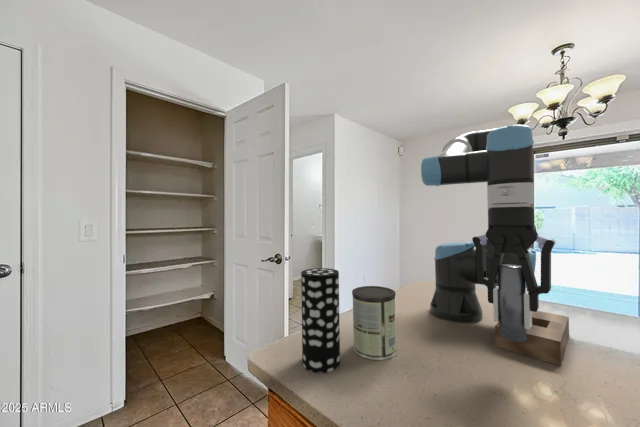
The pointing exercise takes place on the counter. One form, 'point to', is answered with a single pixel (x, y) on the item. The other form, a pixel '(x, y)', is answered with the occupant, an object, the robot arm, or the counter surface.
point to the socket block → (540, 338)
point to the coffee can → (374, 322)
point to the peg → (511, 302)
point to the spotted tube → (320, 319)
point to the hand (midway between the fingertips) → (512, 322)
